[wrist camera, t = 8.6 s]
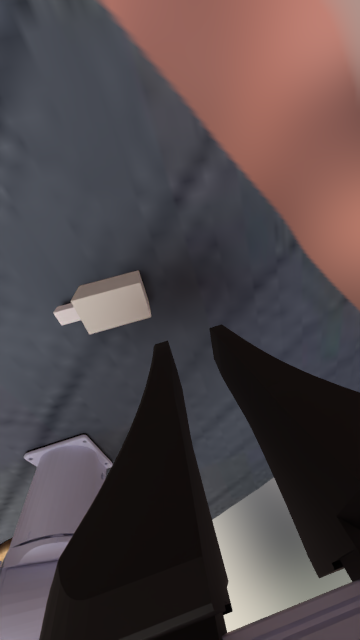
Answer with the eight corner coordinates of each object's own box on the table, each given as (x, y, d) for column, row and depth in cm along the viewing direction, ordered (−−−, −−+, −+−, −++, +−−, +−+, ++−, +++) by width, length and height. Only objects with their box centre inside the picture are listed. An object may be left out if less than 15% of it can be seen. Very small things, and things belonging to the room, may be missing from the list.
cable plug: (148, 300, 18) (151, 316, 16) (73, 321, 18) (63, 341, 15) (138, 269, 17) (140, 282, 14) (55, 291, 16) (41, 309, 14)
